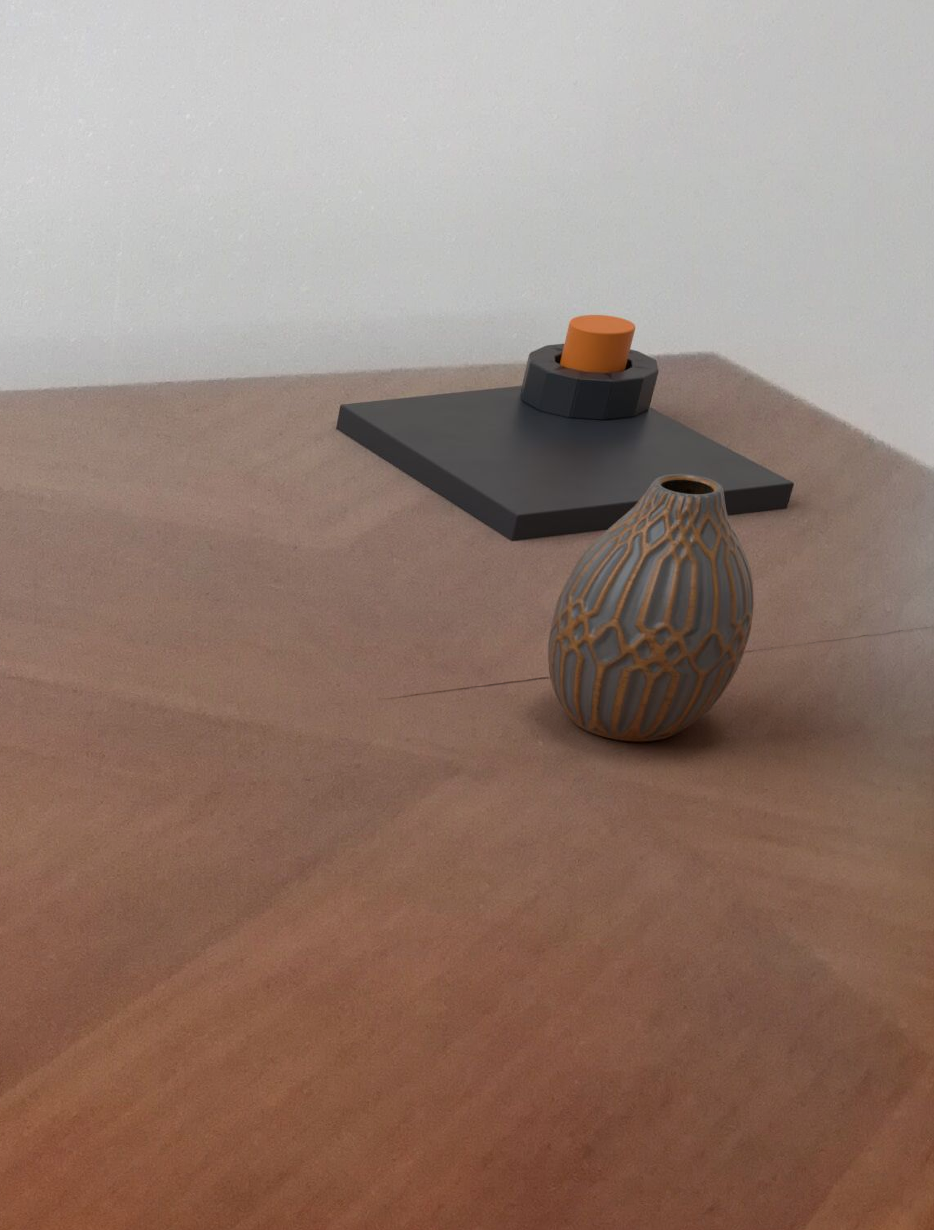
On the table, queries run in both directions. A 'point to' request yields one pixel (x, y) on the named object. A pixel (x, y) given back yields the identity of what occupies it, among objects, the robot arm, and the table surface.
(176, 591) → the table surface
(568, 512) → the scale
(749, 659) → the table surface
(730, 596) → the vase
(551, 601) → the table surface
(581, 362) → the button
